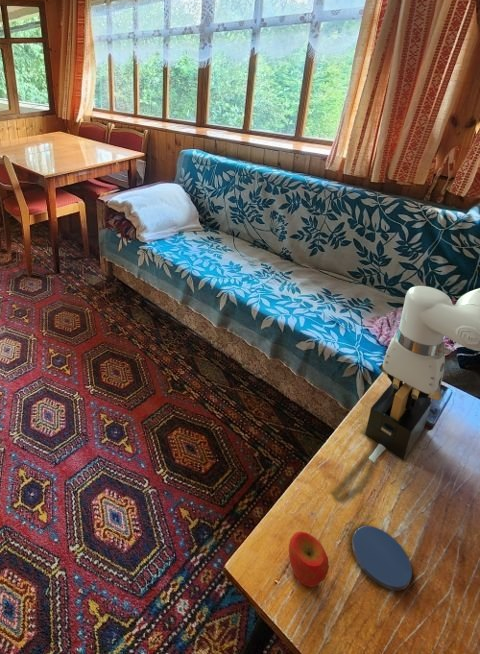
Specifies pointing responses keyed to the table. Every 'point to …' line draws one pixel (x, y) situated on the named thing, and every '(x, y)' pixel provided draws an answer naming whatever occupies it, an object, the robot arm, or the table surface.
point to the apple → (308, 559)
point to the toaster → (396, 424)
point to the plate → (381, 558)
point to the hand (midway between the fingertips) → (403, 402)
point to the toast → (400, 402)
